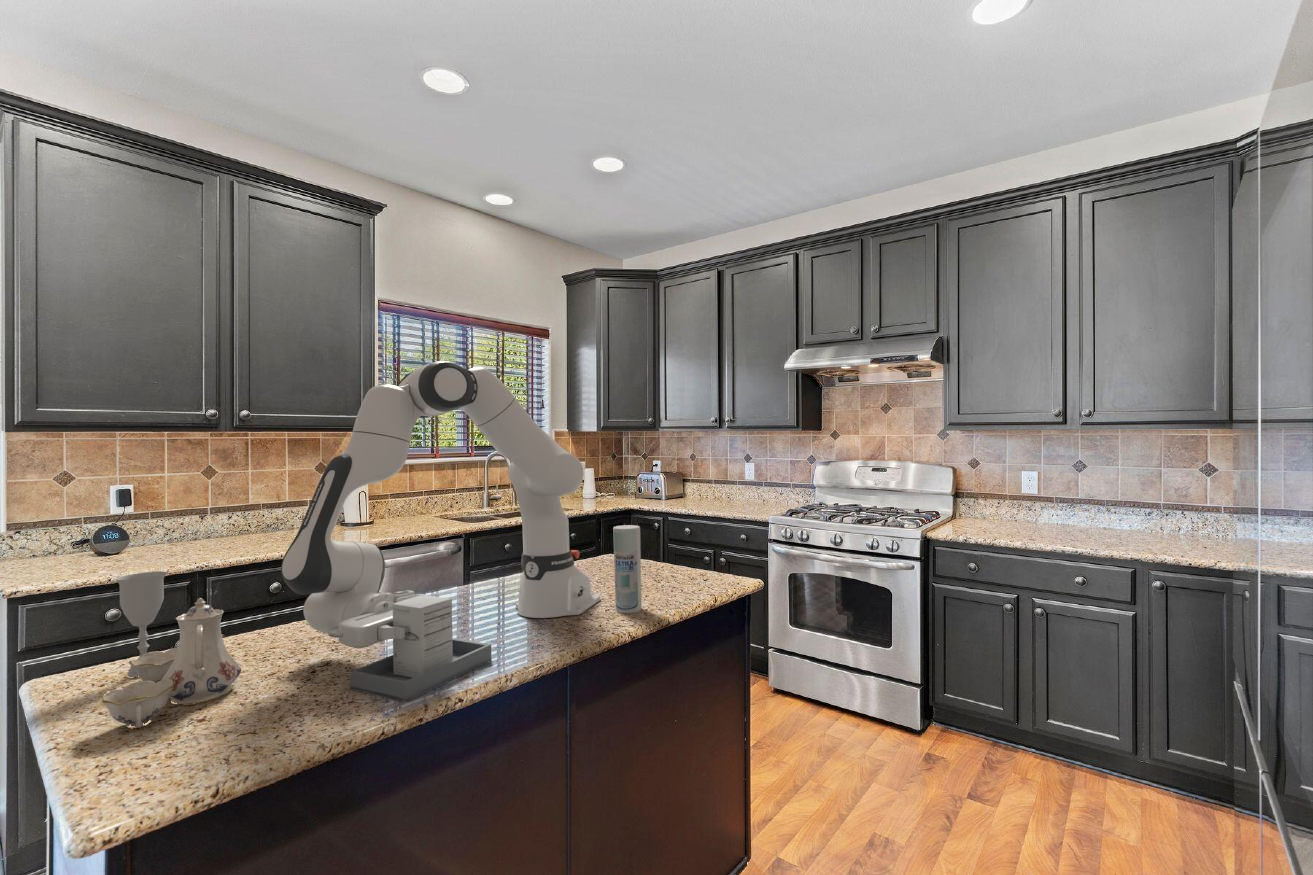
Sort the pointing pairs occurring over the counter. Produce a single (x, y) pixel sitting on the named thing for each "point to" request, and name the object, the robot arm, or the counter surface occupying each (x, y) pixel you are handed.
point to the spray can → (627, 568)
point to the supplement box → (422, 635)
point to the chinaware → (178, 670)
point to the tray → (403, 688)
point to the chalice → (141, 603)
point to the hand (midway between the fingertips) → (427, 625)
